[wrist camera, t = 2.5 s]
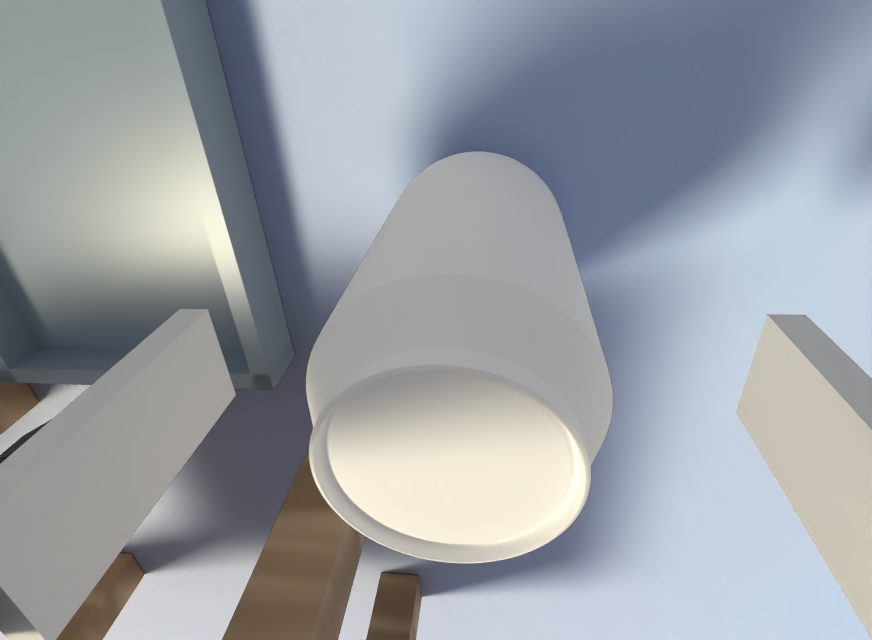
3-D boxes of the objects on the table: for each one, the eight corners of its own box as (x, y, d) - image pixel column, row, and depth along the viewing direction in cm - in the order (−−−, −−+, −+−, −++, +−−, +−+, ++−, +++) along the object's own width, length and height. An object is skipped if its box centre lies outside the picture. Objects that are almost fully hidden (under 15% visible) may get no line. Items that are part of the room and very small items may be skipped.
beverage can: (565, 292, 20) (631, 586, 10) (414, 308, 21) (329, 584, 11) (556, 130, 17) (638, 307, 6) (379, 159, 18) (213, 347, 8)
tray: (-225, -128, 15) (-341, -151, 13) (161, -179, 14) (98, -215, 12) (44, 350, 25) (1, 382, 23) (294, 355, 23) (273, 390, 21)
